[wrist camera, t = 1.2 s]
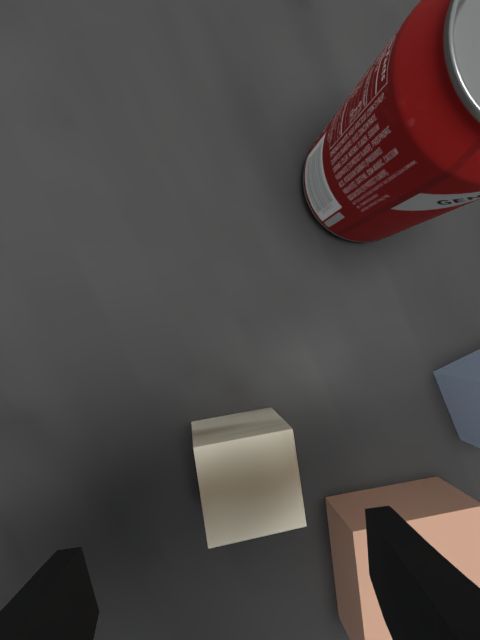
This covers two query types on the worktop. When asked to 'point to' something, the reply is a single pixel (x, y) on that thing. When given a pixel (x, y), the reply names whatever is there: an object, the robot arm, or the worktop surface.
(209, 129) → the worktop surface
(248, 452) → the birch cube
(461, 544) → the terracotta block
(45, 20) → the worktop surface
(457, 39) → the soda can
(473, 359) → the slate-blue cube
